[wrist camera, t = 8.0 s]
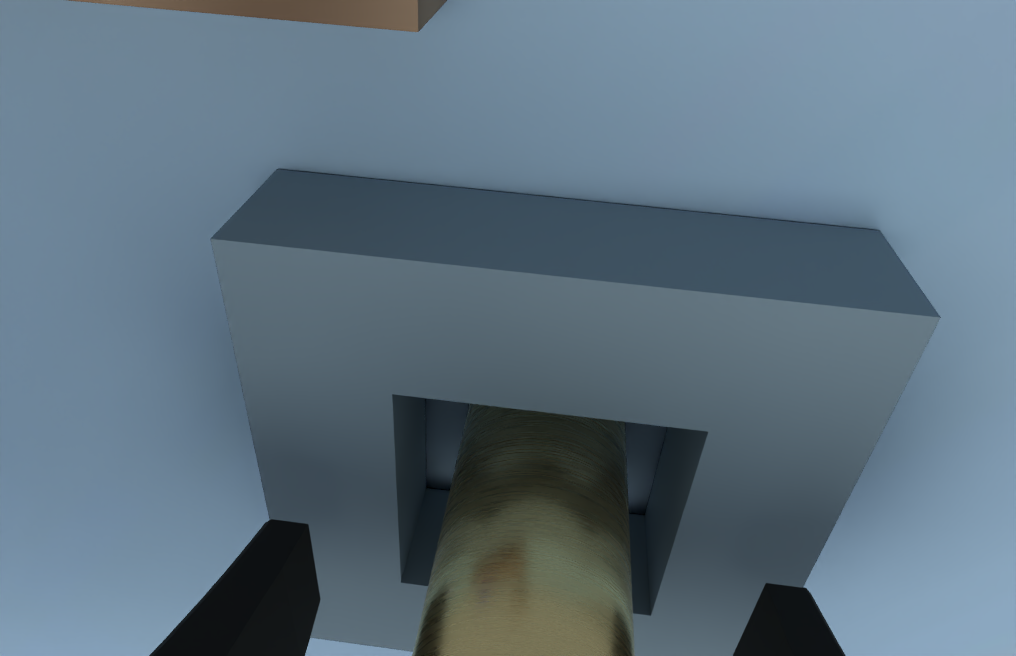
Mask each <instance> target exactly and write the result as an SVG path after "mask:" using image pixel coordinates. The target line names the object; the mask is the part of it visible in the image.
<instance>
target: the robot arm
mask: <svg viewBox="0 0 1016 656" xmlns="http://www.w3.org/2000/svg"><path fill="white" fill-rule="evenodd" d="M320 600H321V599H320V593H319V586H318V580H317V574H316V568H315V562H314V556H313V549H312V543H311V537H310V531H309V525H308V524H305V523H298V522H290V521H282V520H274V519H271V520H269V521H268V522H266V523H265V524H264V525H263V526H262V528H261V529H260V530H259V531H258V533H257V534H256V535H255V536H254V538H253V539H252V540H251V541H250V543H249V544H248V545H247V546H246V547H245V549H244V550H243V551H242V552H241V554H240V555H239V556H238V557H237V558H236V560H235V561H234V562H233V563H232V564H231V565H230V567H229V568H228V569H227V570H226V571H225V573H224V574H223V575H222V576H221V577H220V578H219V580H218V581H217V582H216V583H215V584H214V585H213V586H212V588H211V589H210V590H209V591H208V592H207V593H206V595H205V596H204V597H203V598H202V599H201V600H200V601H199V602H198V604H197V605H196V606H195V607H194V608H193V609H192V610H191V611H190V612H189V613H188V614H187V616H186V617H185V618H184V619H183V620H182V621H181V622H180V623H179V624H178V625H177V627H176V628H175V629H174V630H173V631H172V632H171V633H170V634H169V635H168V636H167V638H166V639H165V640H164V641H163V642H162V643H161V644H160V645H159V646H158V647H157V648H156V649H155V650H154V651H153V652H152V653H151V654H150V655H149V656H305V653H306V650H307V646H308V643H309V640H310V636H311V633H312V629H313V625H314V622H315V618H316V615H317V611H318V607H319V604H320ZM733 656H845V654H844V652H843V651H842V649H841V647H840V645H839V644H838V642H837V640H836V638H835V636H834V635H833V633H832V631H831V629H830V628H829V626H828V624H827V622H826V620H825V619H824V617H823V615H822V613H821V611H820V609H819V608H818V606H817V604H816V602H815V600H814V599H813V597H812V595H811V593H810V592H809V591H808V590H807V589H806V588H802V587H794V586H786V585H778V584H771V583H766V584H765V586H764V588H763V590H762V592H761V594H760V597H759V599H758V601H757V603H756V605H755V608H754V610H753V612H752V614H751V616H750V619H749V621H748V623H747V625H746V627H745V630H744V632H743V634H742V636H741V638H740V640H739V643H738V645H737V647H736V649H735V651H734V654H733Z"/></svg>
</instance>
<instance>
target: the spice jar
mask: <svg viewBox="0 0 1016 656" xmlns="http://www.w3.org/2000/svg"><path fill="white" fill-rule="evenodd" d="M412 656H635V651H634V627H633V604H632V580H631V556H630V532H629V508H628V484H627V460H626V436H625V422H623V421H614V420H606V419H597V418H589V417H580V416H572V415H563V414H555V413H547V412H538V411H530V410H521V409H513V408H504V407H496V406H487V405H479V404H470V405H469V409H468V414H467V418H466V422H465V427H464V431H463V435H462V440H461V444H460V449H459V453H458V457H457V462H456V466H455V471H454V475H453V479H452V484H451V488H450V493H449V497H448V501H447V506H446V510H445V514H444V519H443V523H442V528H441V532H440V536H439V541H438V545H437V550H436V554H435V558H434V563H433V567H432V571H431V576H430V580H429V585H428V589H427V593H426V598H425V602H424V607H423V611H422V615H421V620H420V624H419V629H418V633H417V637H416V642H415V646H414V650H413V655H412Z"/></svg>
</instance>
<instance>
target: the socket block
mask: <svg viewBox="0 0 1016 656" xmlns="http://www.w3.org/2000/svg"><path fill="white" fill-rule="evenodd" d="M69 1H80V2H91V3H102V4H113V5H124V6H135V7H146V8H157V9H168V10H179V11H190V12H201V13H212V14H223V15H234V16H245V17H257V18H268V19H279V20H290V21H301V22H312V23H323V24H334V25H345V26H356V27H367V28H378V29H389V30H400V31H411V32H419V31H420V30H421V29H422V27H423V26H424V25H425V24H426V23H427V22H428V21H429V20H430V19H431V18H432V16H433V15H434V14H435V13H436V12H437V11H438V10H439V9H440V8H441V7H442V5H443V4H444V3H445V2H446V1H447V0H69Z"/></svg>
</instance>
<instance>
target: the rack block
mask: <svg viewBox="0 0 1016 656" xmlns="http://www.w3.org/2000/svg"><path fill="white" fill-rule="evenodd" d="M211 243H212V248H213V253H214V257H215V262H216V267H217V272H218V276H219V281H220V286H221V291H222V295H223V300H224V305H225V310H226V315H227V319H228V324H229V329H230V334H231V338H232V343H233V348H234V353H235V357H236V362H237V367H238V372H239V376H240V381H241V386H242V391H243V395H244V400H245V405H246V410H247V414H248V419H249V424H250V429H251V433H252V438H253V443H254V448H255V452H256V457H257V462H258V467H259V471H260V476H261V481H262V486H263V490H264V495H265V500H266V505H267V509H268V514H269V519H270V520H271V519H274V520H282V521H290V522H298V523H305V524H308V525H309V531H310V537H311V543H312V549H313V556H314V562H315V568H316V574H317V580H318V586H319V593H320V599H321V600H320V604H319V607H318V611H317V615H316V618H315V622H314V625H313V629H312V633H311V636H310V638H317V639H325V640H332V641H339V642H346V643H354V644H361V645H368V646H375V647H383V648H390V649H397V650H404V651H412V652H413V650H414V646H415V642H416V637H417V633H418V629H419V624H420V620H421V615H422V611H423V607H424V602H425V598H426V593H427V589H428V585H429V580H430V576H431V571H432V567H433V563H434V558H435V554H436V550H437V545H438V541H439V536H440V532H441V528H442V523H443V519H444V514H445V510H446V506H447V501H448V497H449V493H450V491H445V490H437V489H429V488H426V424H425V398H428V399H437V400H445V401H454V402H462V403H470V404H479V405H487V406H496V407H504V408H513V409H521V410H530V411H538V412H547V413H555V414H563V415H572V416H580V417H589V418H597V419H606V420H614V421H623V422H631V423H640V424H648V425H656V426H665V427H668V429H667V433H666V436H665V440H664V444H663V448H662V452H661V455H660V459H659V463H658V467H657V470H656V474H655V478H654V482H653V486H652V489H651V493H650V497H649V501H648V504H647V508H646V512H645V515H637V514H629V532H630V556H631V580H632V604H633V627H634V651H635V656H733V654H734V651H735V649H736V647H737V645H738V643H739V640H740V638H741V636H742V634H743V632H744V630H745V627H746V625H747V623H748V621H749V619H750V616H751V614H752V612H753V610H754V608H755V605H756V603H757V601H758V599H759V597H760V594H761V592H762V590H763V588H764V586H765V584H766V583H771V584H778V585H786V586H794V587H802V588H803V586H804V584H805V582H806V580H807V578H808V576H809V574H810V572H811V570H812V568H813V567H814V565H815V563H816V561H817V559H818V557H819V555H820V553H821V551H822V549H823V547H824V545H825V543H826V541H827V539H828V537H829V535H830V533H831V531H832V529H833V527H834V525H835V523H836V521H837V520H838V518H839V516H840V514H841V512H842V510H843V508H844V506H845V504H846V502H847V500H848V498H849V496H850V494H851V492H852V490H853V488H854V486H855V484H856V482H857V480H858V478H859V476H860V475H861V473H862V471H863V469H864V467H865V465H866V463H867V461H868V459H869V457H870V455H871V453H872V451H873V449H874V447H875V445H876V443H877V441H878V439H879V437H880V435H881V433H882V431H883V429H884V428H885V426H886V424H887V422H888V420H889V418H890V416H891V414H892V412H893V410H894V408H895V406H896V404H897V402H898V400H899V398H900V396H901V394H902V392H903V390H904V388H905V386H906V384H907V383H908V381H909V379H910V377H911V375H912V373H913V371H914V369H915V367H916V365H917V363H918V361H919V359H920V357H921V355H922V353H923V351H924V349H925V347H926V345H927V343H928V341H929V339H930V337H931V336H932V334H933V332H934V330H935V328H936V326H937V324H938V322H939V320H940V318H941V317H940V316H939V315H938V313H937V312H936V310H935V309H934V307H933V306H932V305H931V303H930V302H929V300H928V299H927V297H926V296H925V295H924V293H923V292H922V290H921V289H920V287H919V286H918V285H917V283H916V282H915V280H914V279H913V277H912V276H911V274H910V273H909V272H908V270H907V269H906V267H905V266H904V264H903V263H902V262H901V260H900V259H899V257H898V256H897V254H896V253H895V252H894V250H893V249H892V247H891V246H890V244H889V243H888V242H887V240H886V239H885V237H884V236H883V234H882V233H881V232H880V231H877V230H868V229H858V228H848V227H838V226H828V225H819V224H809V223H799V222H789V221H779V220H770V219H760V218H750V217H740V216H730V215H721V214H711V213H701V212H691V211H681V210H672V209H662V208H652V207H642V206H632V205H623V204H613V203H603V202H593V201H583V200H574V199H564V198H554V197H544V196H534V195H525V194H515V193H505V192H495V191H485V190H476V189H466V188H456V187H446V186H437V185H427V184H417V183H407V182H397V181H388V180H378V179H368V178H358V177H348V176H339V175H329V174H319V173H309V172H299V171H290V170H280V169H277V170H276V171H275V172H274V173H273V174H272V175H271V176H270V177H269V178H268V179H267V180H266V181H265V183H264V184H263V185H262V186H261V187H260V188H259V189H258V190H257V191H256V192H255V193H254V194H253V195H252V196H251V197H250V198H249V199H248V200H247V201H246V202H245V203H244V204H243V205H242V207H241V208H240V209H239V210H238V211H237V212H236V213H235V214H234V215H233V216H232V217H231V218H230V219H229V220H228V221H227V222H226V223H225V224H224V225H223V226H222V227H221V228H220V230H219V231H218V232H217V233H216V234H215V235H214V236H213V237H212V238H211Z"/></svg>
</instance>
